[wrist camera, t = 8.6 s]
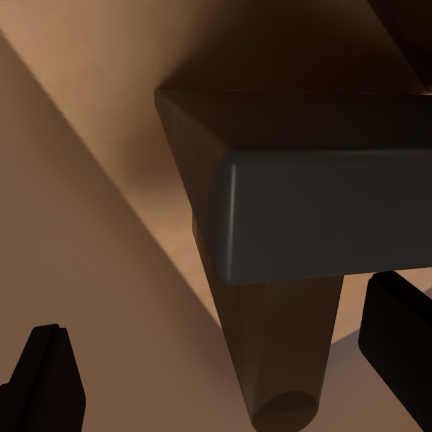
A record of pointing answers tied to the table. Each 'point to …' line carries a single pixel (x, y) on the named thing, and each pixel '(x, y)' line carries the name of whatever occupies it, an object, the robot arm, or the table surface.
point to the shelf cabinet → (410, 32)
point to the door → (297, 220)
